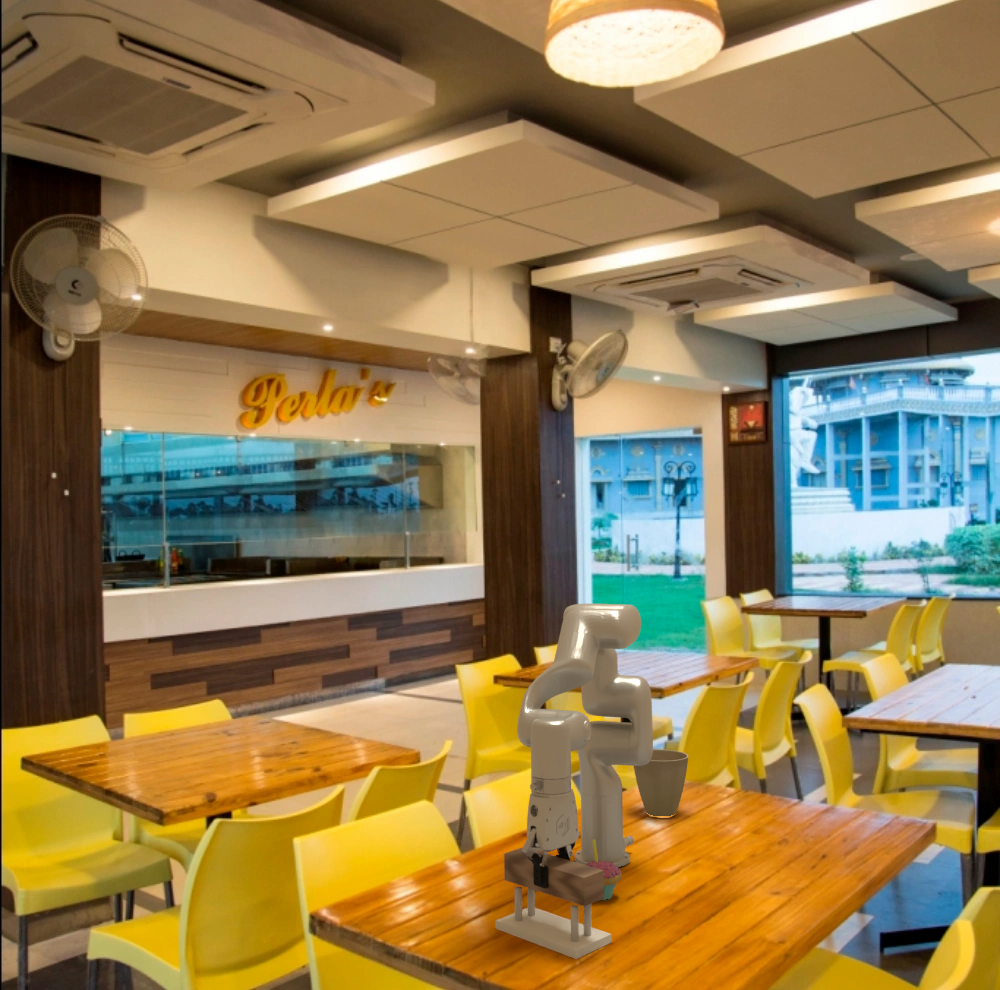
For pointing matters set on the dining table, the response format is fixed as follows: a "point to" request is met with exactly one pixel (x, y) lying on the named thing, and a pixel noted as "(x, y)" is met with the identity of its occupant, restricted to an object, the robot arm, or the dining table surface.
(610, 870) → the cupcake
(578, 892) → the wooden block
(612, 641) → the robot arm
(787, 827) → the dining table surface
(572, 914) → the peg stand
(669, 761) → the plant pot
